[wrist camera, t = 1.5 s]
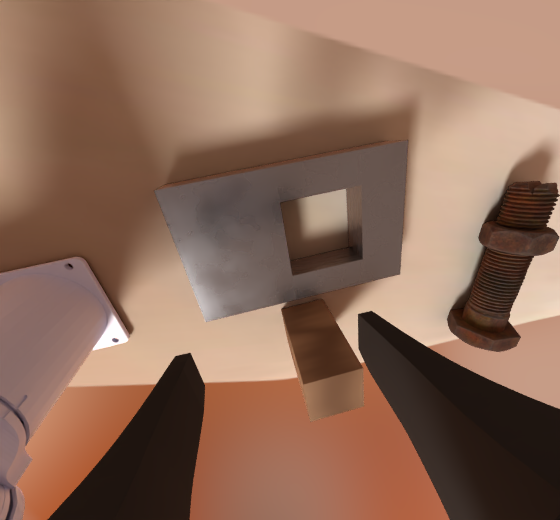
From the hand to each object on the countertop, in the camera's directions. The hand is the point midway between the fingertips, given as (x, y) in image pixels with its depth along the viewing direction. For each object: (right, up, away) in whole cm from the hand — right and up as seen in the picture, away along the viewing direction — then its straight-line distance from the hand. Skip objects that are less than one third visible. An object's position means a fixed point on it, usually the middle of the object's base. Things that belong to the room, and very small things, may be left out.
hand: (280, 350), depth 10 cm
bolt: (+20, +4, +14) cm, 25 cm away
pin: (+2, -2, +13) cm, 14 cm away
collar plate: (+1, +6, +9) cm, 11 cm away
